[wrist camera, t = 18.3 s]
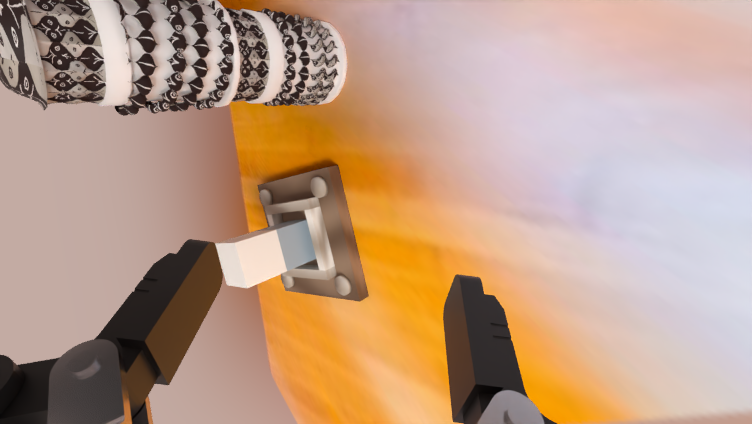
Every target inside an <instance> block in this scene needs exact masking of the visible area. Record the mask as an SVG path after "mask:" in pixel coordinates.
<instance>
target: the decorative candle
mask: <svg viewBox="0 0 752 424" xmlns="http://www.w3.org/2000/svg"><path fill="white" fill-rule="evenodd" d="M281 19H282V20H281ZM347 65H348V64H347V55H346V47H345V45H344V42H343V40H342V37H341V35H340V33H339V31H338V30H337V29H336V28H335V27H334V26H333V25H332V24H331V23H328V22H324V21H320V20H316V21H314V22H313V21H312V18H311V17H308V18H307V17H305V18H304V19H301V18H300V16H299V15H298V14H296V15H295V16H294V18H293V16H292V15H290V14H288V15H285V13H283V12H278V13H277V12H275V11H273V12H271V11H270V10H269V9H263V10H262V11H252V10H246V9H241V10H233V9H229V8H224V7H223V6H222V5H221V4H220V2H219V1H217V0H200V1H197V0H0V80H1V82H2V83H3V84H4V85H5V87H7V88H8V89H9V90H11V91H13V92H15V93H17V94H20V95H22V96H25V97H27V98H30V99H32V100H34V101H36V102H38V104H39V105H40V106H41V107H42V108H43V109H44V110H45V109H46V108H47V104H51V103H61V102H63V103H67V104H77V103H85V102H92V103H97V104H98V105H99V106H115V109H116V111H117V112H118V113H119V114H121V115H128V114H131V115H135V114H137V113H138V111H139V108H147V109H148V110H149V111H150V112H152V113H158V112H159V111H162V112H164V111H167V110H168V109H170V110H171V111H178V110H180V111H185V110H187V109H188V107H189V105H190V106H191V105H193V106H194V107H195V108H196V109H199V110H201V109H203V108H204V107H205V108H212V107H213V106H215V107H222V106H226V105H229V104H230V102H231V101H233V102H237V101H246V102H248V103H263V104H264V105H266V106H269V105H272V106H277V105H283V104H285V105H287V106H289V105H291V104H292V105H300V106H304V105H317V104H318V105H321V104H326V103H331V102H332V101H333V100H334V99H335V98H336V97H337V96H338V95H339V94H340V91H341V89H342V87H343V85H344V83H345V79H346V72H347ZM128 101H131V102H132V104H131V105H124V104H126V103H128ZM151 101H158V102H157V103H152V102H151ZM176 101H184V102H179V103H177V102H176Z"/></svg>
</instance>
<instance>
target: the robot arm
mask: <svg viewBox="0 0 752 424" xmlns="http://www.w3.org/2000/svg"><path fill="white" fill-rule="evenodd" d="M222 278H223V274H222V269H221V265H220V262H219V257H218V252H217V248H216V245H215V243H213V242H207V241H200V240H192V239H190V240H187V241H186V242H185V243H184V245H183V246H182V247H181V249H180V250H179V252H178V253H177V254H172V253H169V254H167V255H166V256H165V257H163V258H162V259H160V260H159V261H158V262H156V263H155V264H154V265H153V266H152V267H151V268H150V270H149V271H148V272H147V274H146V275H145V276H144V277H143V280H141V281H140V283H139V284H138V285H137V287H136V288H135V291H134V292H132V293H131V294H130V295H129V297H128V298H127V299H126V301H125V302H124V303H123V305H122V306H121V307H120V308H119V310H118V311H117V312H116V314H115V315H114V316H113V317H112V318H111V320H110V321H109V322H108V324H107V325H106V326H105V327H104V329H103V330H102V331H101V333H100V334H99V335H98V336H97V337H96V338H95V339H94V340H90V341H87V342H84V343H81V344H79V345H77V346H75V347H73V348H72V349H70V350H69V351H67V352H66V353H65V354H63V355H62V356H61V357H60V358H56V359H50V360H45V361H38V362H33V363H27V364H21V365H16V364H15V363H14V362H13V361H12V360H11V359H10V358H9V357H7V356H4V355H0V424H153V421H152V414H151V408H150V401H149V397H148V394H149V392H150V391H151V389H152V387H153V385H154V384H163V385H169V384H170V382H171V380H172V378H173V376H174V375H175V373H176V371H177V369H178V367H179V365H180V363H181V361H182V359H183V358H184V356H185V354H186V352H187V350H188V348H189V346H190V345H191V343H192V341H193V339H194V337H195V335H196V333H197V332H198V330H199V328H200V326H201V324H202V322H203V320H204V318H205V317H206V315H207V313H208V311H209V309H210V307H211V305H212V303H213V301H214V300H215V298H216V296H217V293H218V292H219V290H220V287H221V284H222ZM443 320H444V331H445V342H446V353H447V364H448V374H449V385H450V396H451V407H452V418H453V422H458V423H464V424H557V423H555V422H553V421H551V420H549V419H548V418H546V417H545V416H544V415H542V414H541V413H540V411H539V410H538V408H537V407H536V406H535V404H534V403H533V402H532V401H531V400H530V399H529V398H528V396H527V394H526V392H525V389H524V385H523V382H522V378H521V374H520V370H519V366H518V362H517V358H516V354H515V351H514V347H513V343H512V341H511V335H510V331H509V328H508V323H507V320H506V316H505V312H504V309H503V308H502V306H501V305H500V303H499V302H498V300H497V299H496V297H495V296H493V295H485V294H484V291H483V287H482V282H481V279H480V278H479V277H473V276H465V275H456V276H455V278H454V280H453V283H452V286H451V288H450V291H449V294H448V296H447V299H446V302H445V306H444V314H443Z"/></svg>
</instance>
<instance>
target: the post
mask: <svg viewBox="0 0 752 424" xmlns="http://www.w3.org/2000/svg"><path fill="white" fill-rule="evenodd" d="M215 245H216V248H217V252H218V255H219V259H220V262H221V266H222V269H223V273H224V276H225V280H226V283H227V285H230V286H236V287H243V288H249V287H251V286H254V285H256V284H259V283H261V282H263V281H266V280H268V279H270V278H273V277H275V276H277V275H279V274H282V273H284V272H286V271H289V270H291V269H293V268H296V267H298V266H300V265H303V264H305V263H307V262H310V261H312V260H314V259H316V255H315V251H314V247H313V243H312V239H311V235H310V231H309V227H308V223H307V219H302V220H293V221H287V222H283V223H280V224H277V225H274V226H270V227H267V228H264V229H261V230H257V231H254V232H251V233H248V234H245V235H241V236H238V237H235V238H232V239H228V240H225V241H222V242H219V243H215Z"/></svg>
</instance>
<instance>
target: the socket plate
mask: <svg viewBox="0 0 752 424" xmlns="http://www.w3.org/2000/svg"><path fill="white" fill-rule="evenodd" d="M258 189H259V193H260V200H261V203H262V204H263V208H264V212H265V216H266V219H267V223H268V227H270V226H274V225H277V224H280V223H283V222H287V221H293V220H302V219H307V223H308V227H309V231H310V235H311V239H312V243H313V247H314V251H315V255H316V259H314V260H312V261H310V262H307V263H305V264H303V265H300V266H298V267H296V268H293V269H291V270H289V271H286V272H284V273H282V274H281V280H282V282H283V284H284V287H285V291H291V292H298V293H305V294H312V295H319V296H326V297H333V298H340V299H347V300H354V301H361V300H363V299H365V298H366V297H368V291H367V287H366V283H365V279H364V274H363V270H362V266H361V262H360V257H359V253H358V249H357V245H356V240H355V236H354V232H353V228H352V223H351V219H350V215H349V211H348V206H347V202H346V198H345V194H344V189H343V185H342V181H341V176H340V172H339V168H338V165H336V166H331V167H326V168H322V169H318V170H315V171H311V172H307V173H303V174H299V175H295V176H291V177H288V178H284V179H280V180H276V181H272V182H268V183H264V184H261V185H258Z"/></svg>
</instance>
